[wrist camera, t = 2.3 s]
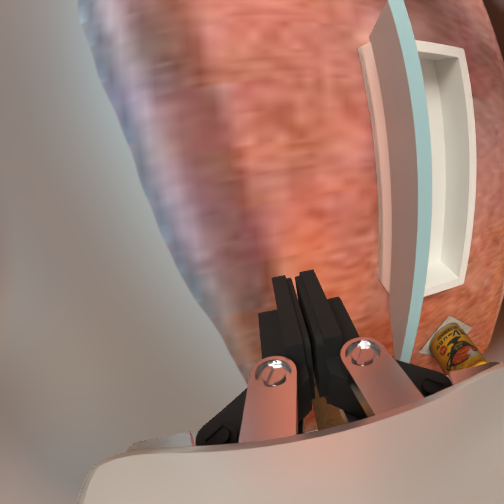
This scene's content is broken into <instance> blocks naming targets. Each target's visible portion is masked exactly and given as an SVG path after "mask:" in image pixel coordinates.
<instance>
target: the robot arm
mask: <svg viewBox="0 0 504 504" xmlns="http://www.w3.org/2000/svg"><path fill="white" fill-rule="evenodd" d="M295 281H296V288H297V295H298V299H297V296H296V292H295V289H294V286H293V283H292V279H291V278H287V279H286V277H285V275H283V276H278V277H273V278H272V283H273V288H274V293H275V298H276V304H277V309H278V310H273V311H267V312H262V313H258V317H259V328H260V339H261V350H262V360H260V361H259V362H257V363H256V364H255V365H254V366H253V367H252V369H251V372H250V375H249V381H248V388H246V389H245V390H244V391H243V392H242V393H241V394H240V395H239V396H238V397H236V398H235V399H234V400H233V401H232V402H231V403H230V404H229V405H227V406H226V408H224V409H223V410H222V411H221V412H219V413H218V414H217V415H216V416H215V417H214V418H212V419H211V420H210V421H209V422H208V423H206V425H204V426H203V427H202V428H201V429H200V431H198V432H197V433H193V434H191V433H190V432H185V433H180V434H175V435H171V436H166V437H161V438H156V439H151V440H144V441H139V442H136V443H134V444H132V445H131V446H130V447H129V448H128V449H127V451H126V452H124V453H120V454H116V455H113V456H110V457H108V458H106V459H103V460H102V461H100V462H98V463H97V464H95V466H94V467H93V468H92V469H91V470H90V472H89V473H88V475H87V477H86V479H85V481H84V484H83V486H82V488H81V491H80V494H79V497H78V500H77V504H504V362H502V363H498V362H489V363H485V364H482V365H478V366H474V367H470V368H465V369H461V370H456V371H452V372H450V373H449V375H444V374H442V373H440V372H437V371H433V370H430V369H426V368H423V367H419V366H416V365H413V364H409V363H406V362H403V361H399V360H396V359H394V358H393V357H392V356H391V354H390V353H389V352H388V351H387V349H386V348H385V347H384V346H383V344H382V343H380V342H379V341H378V340H376V339H374V338H370V337H359V335H358V333H357V331H356V329H355V327H354V325H353V323H352V321H351V319H350V317H349V315H348V313H347V311H346V309H345V307H344V305H343V303H342V301H341V299H340V298H339V297H335V298H330V299H326V296H325V294H324V292H323V290H322V288H321V285H320V283H319V281H318V279H317V277H316V274H315V272H314V270H308V271H303V272H300V276H297V277H295ZM313 374H314V376H313ZM314 378H315V382H316V386H317V389H318V393H319V397H320V398H322V397H325V399H326V403H327V404H330V405H333V406H335V407H337V408H339V411H340V414H341V416H342V418H343V420H344V422H345V424H343V425H340V426H336V427H331V428H327V429H323V430H318V431H314V432H309V433H304V418H305V416H306V415H307V414H308V413H309V412H310V411H311V409H312V399H315V387H314Z"/></svg>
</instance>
